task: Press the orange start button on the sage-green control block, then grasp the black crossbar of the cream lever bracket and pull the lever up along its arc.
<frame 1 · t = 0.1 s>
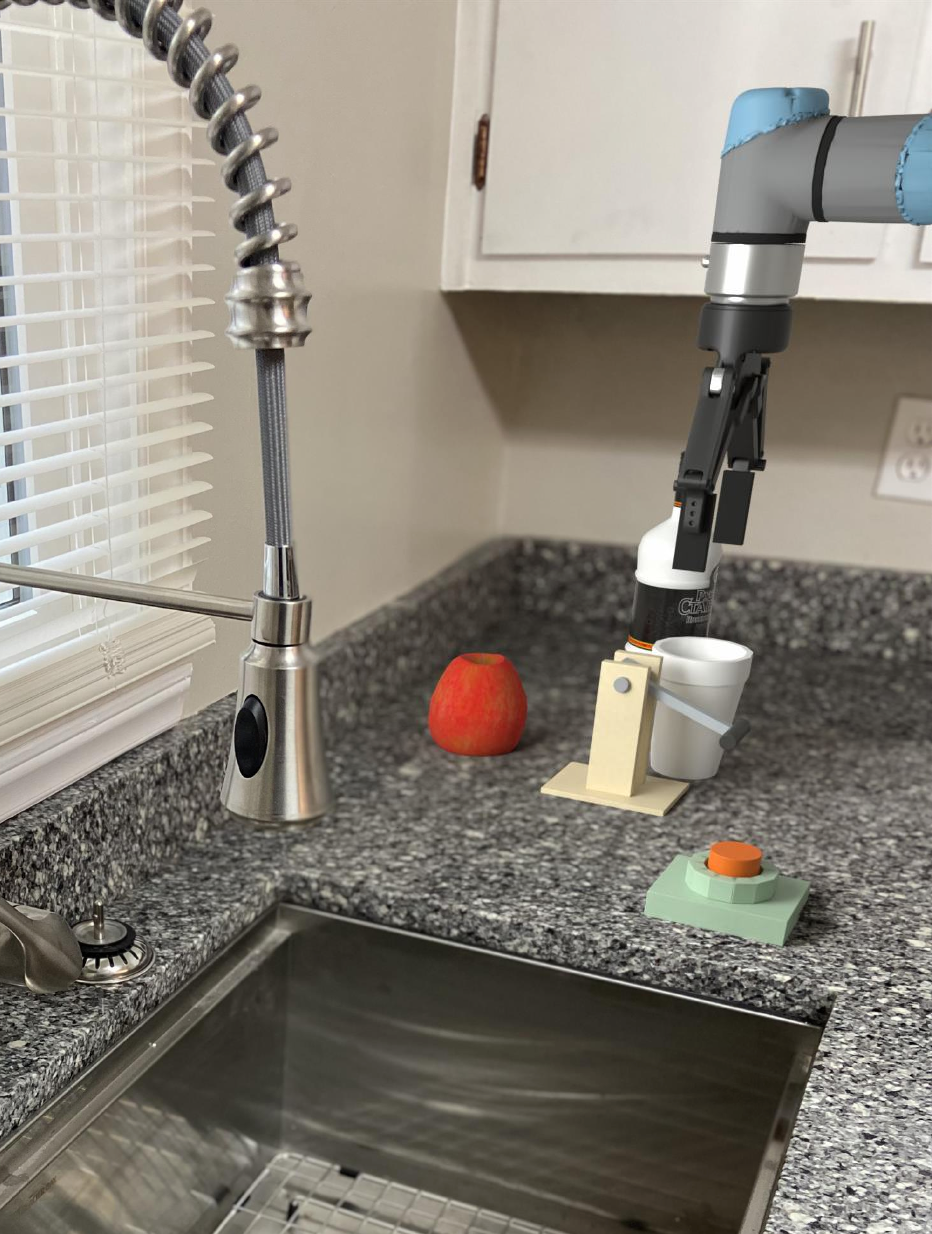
hand: (708, 556, 134), 23 cm above the worktop, tool pointing down, fingers open, 13 cm apart
vodka: (652, 739, 162), on the worktop
apple: (474, 751, 158), on the worktop
foam cup: (682, 776, 151), on the worktop
bracket: (614, 796, 146), on the worktop
control block: (725, 910, 122), on the worktop
lever: (679, 704, 139), point 10 cm above the worktop, hinge at -20.0°
button: (734, 860, 120), point 4 cm above the worktop, slide at 0.1 cm
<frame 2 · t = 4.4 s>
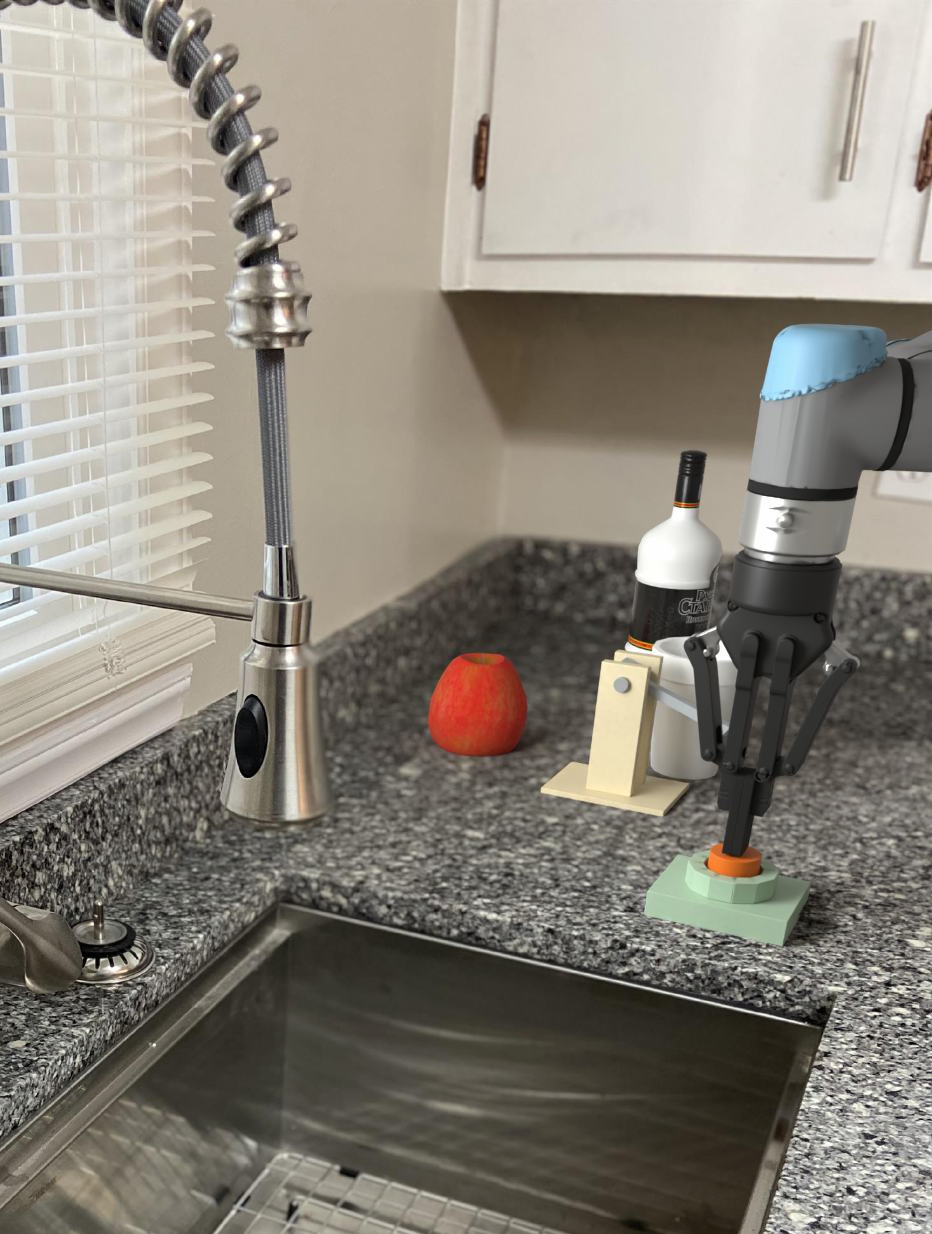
hand: (735, 849, 120), 5 cm above the worktop, tool pointing down, fingers closed
button: (734, 862, 120), point 4 cm above the worktop, slide at -0.1 cm, touching gripper
everything else where it was.
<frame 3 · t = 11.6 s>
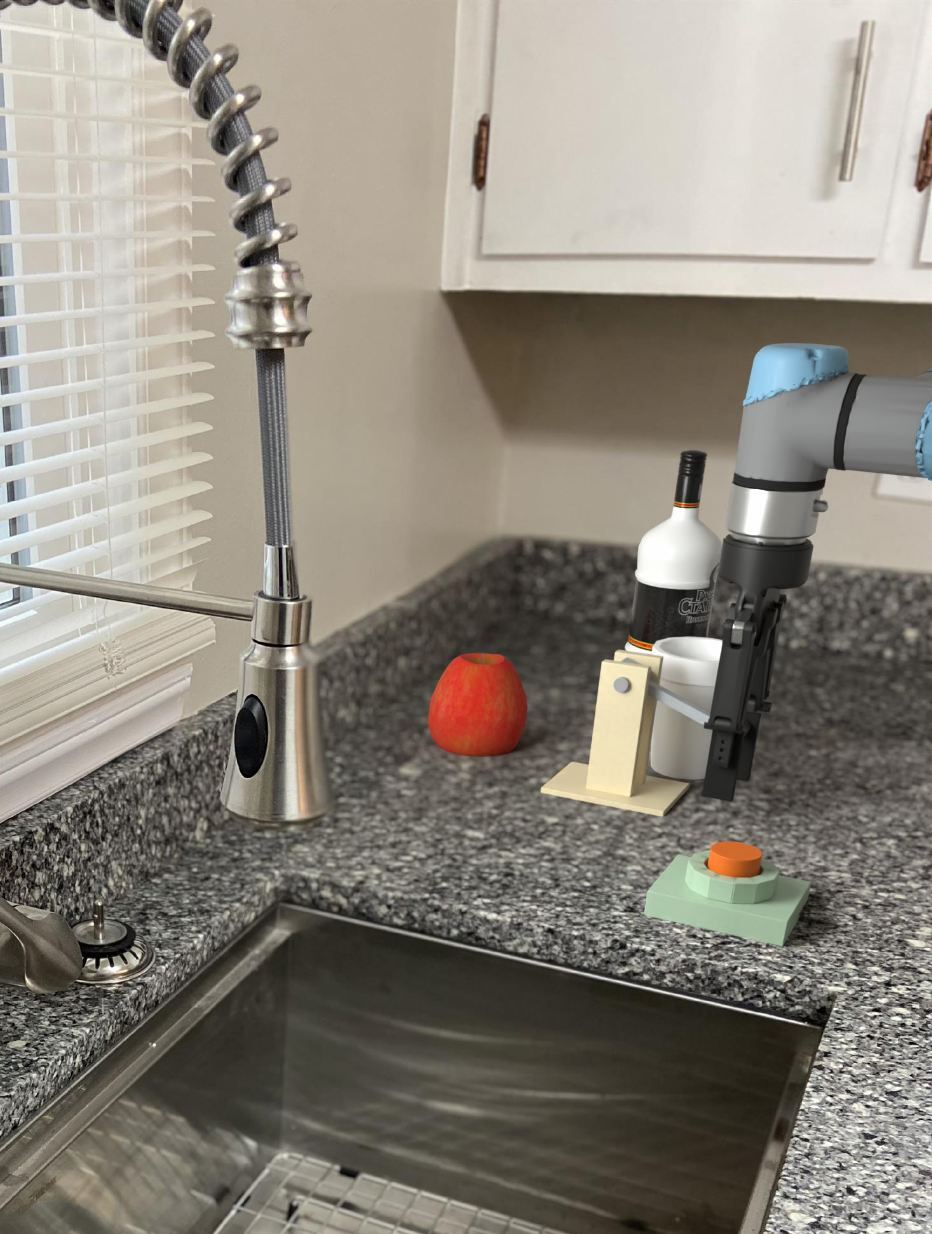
hand: (726, 787, 139), 3 cm above the worktop, tool pointing down, fingers closed on lever, 5 cm apart
lever: (679, 704, 139), point 10 cm above the worktop, hinge at -20.0°, touching gripper
button: (734, 860, 120), point 4 cm above the worktop, slide at 0.1 cm
everything else where it was.
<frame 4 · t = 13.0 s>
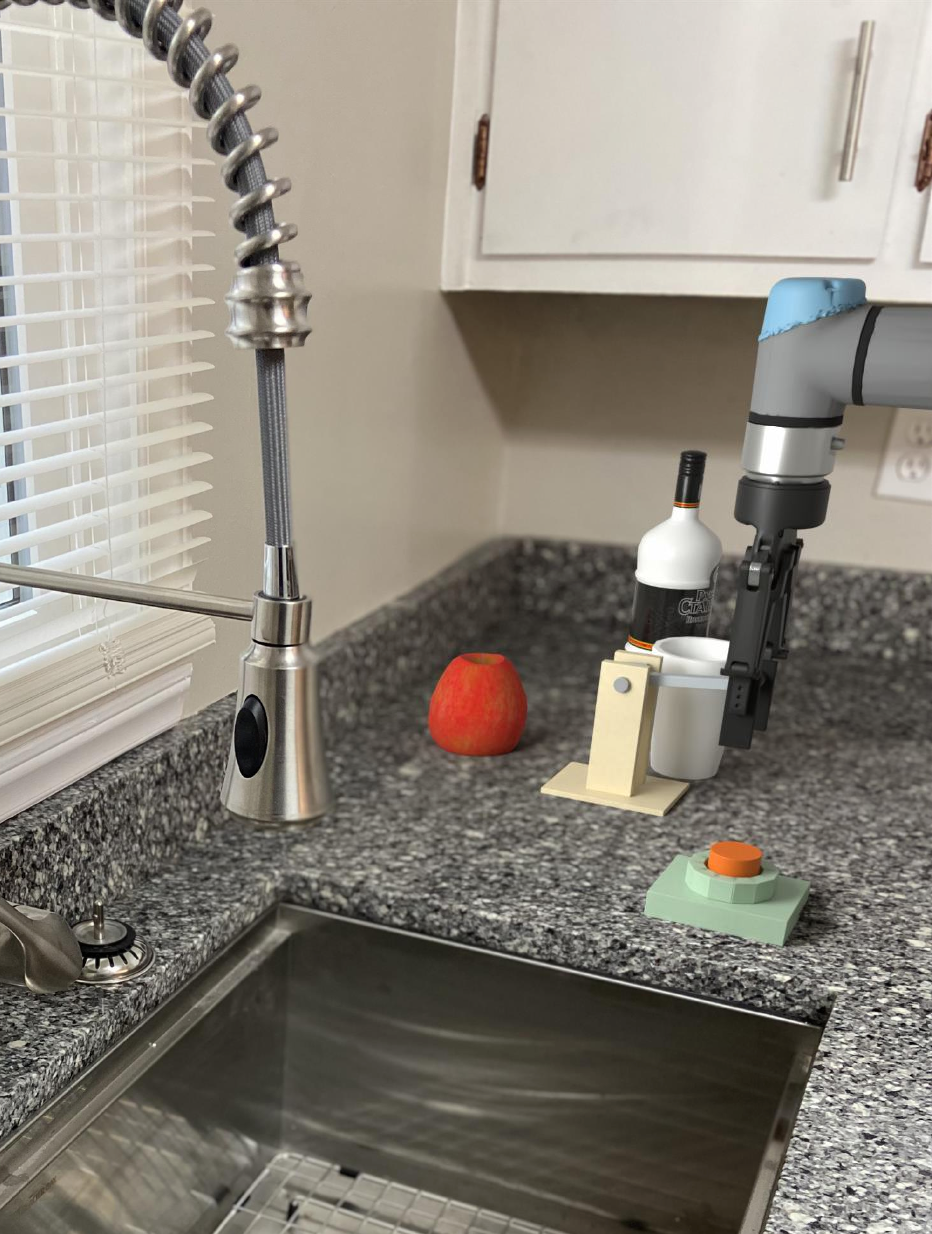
hand: (742, 736, 137), 8 cm above the worktop, tool pointing down, fingers closed on lever, 5 cm apart
lever: (685, 680, 138), point 12 cm above the worktop, hinge at 5.4°, touching gripper
everything else where it was.
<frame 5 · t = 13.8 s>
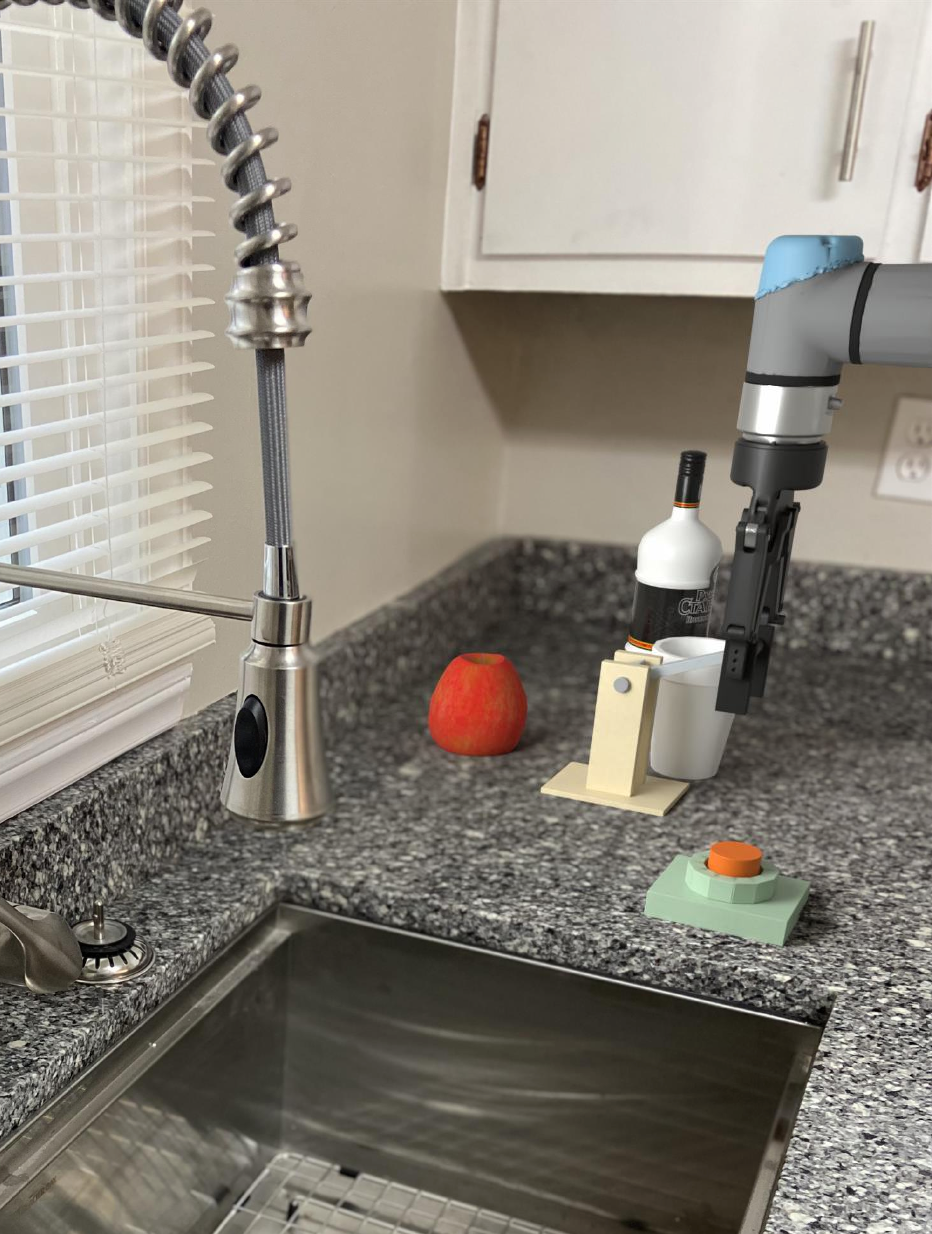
hand: (739, 702, 136), 11 cm above the worktop, tool pointing down, fingers closed on lever, 5 cm apart
lever: (684, 665, 137), point 14 cm above the worktop, hinge at 21.3°, touching gripper
everything else where it was.
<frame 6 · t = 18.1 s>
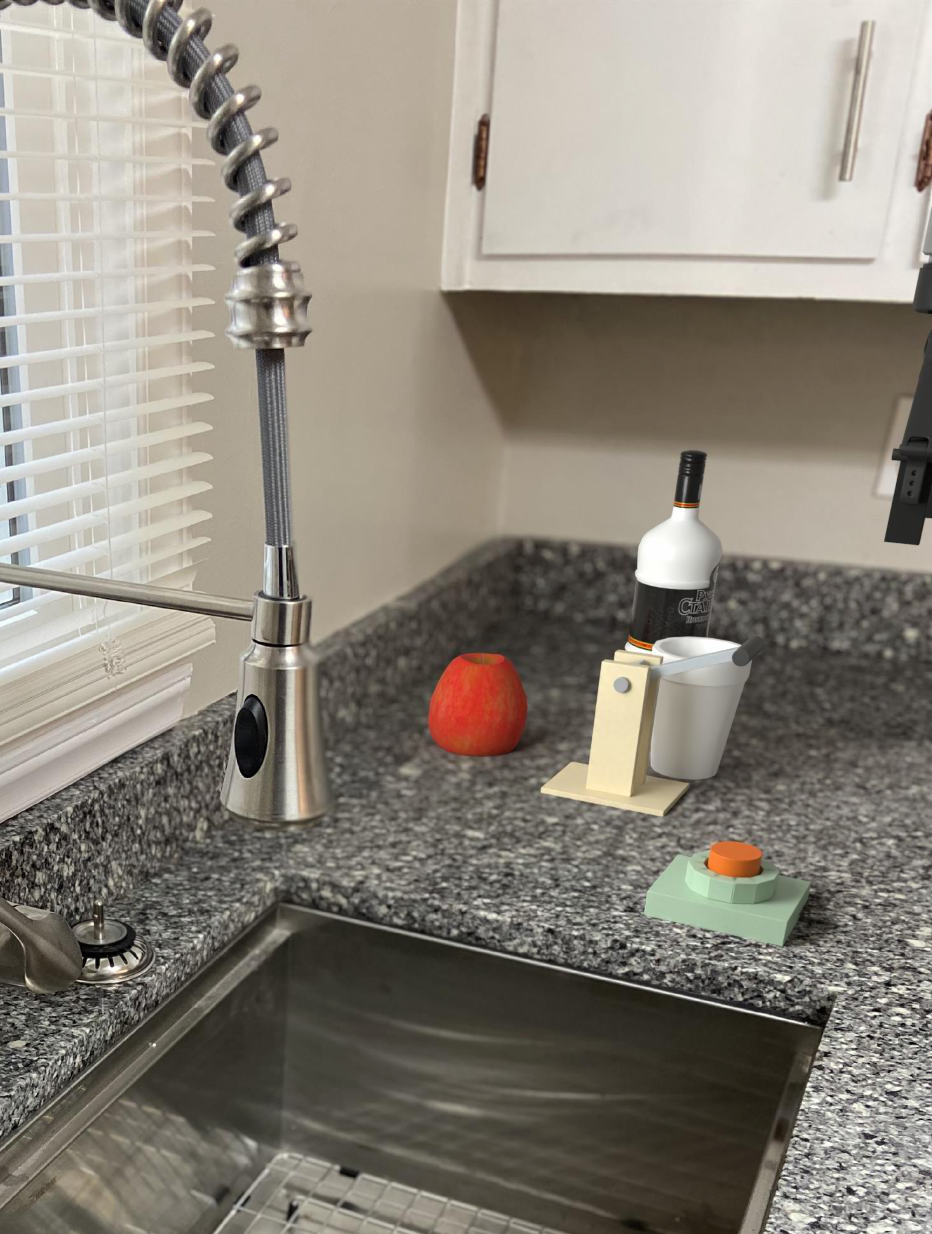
hand: (914, 530, 129), 27 cm above the worktop, tool pointing down, fingers open, 13 cm apart
lever: (684, 665, 137), point 14 cm above the worktop, hinge at 21.5°
everything else where it was.
at the end: button pushed in 1.0 cm at the most during the clip, back to where it started at the end; button slide at 0.1 cm; lever at +22° (first picture: -20°) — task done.
